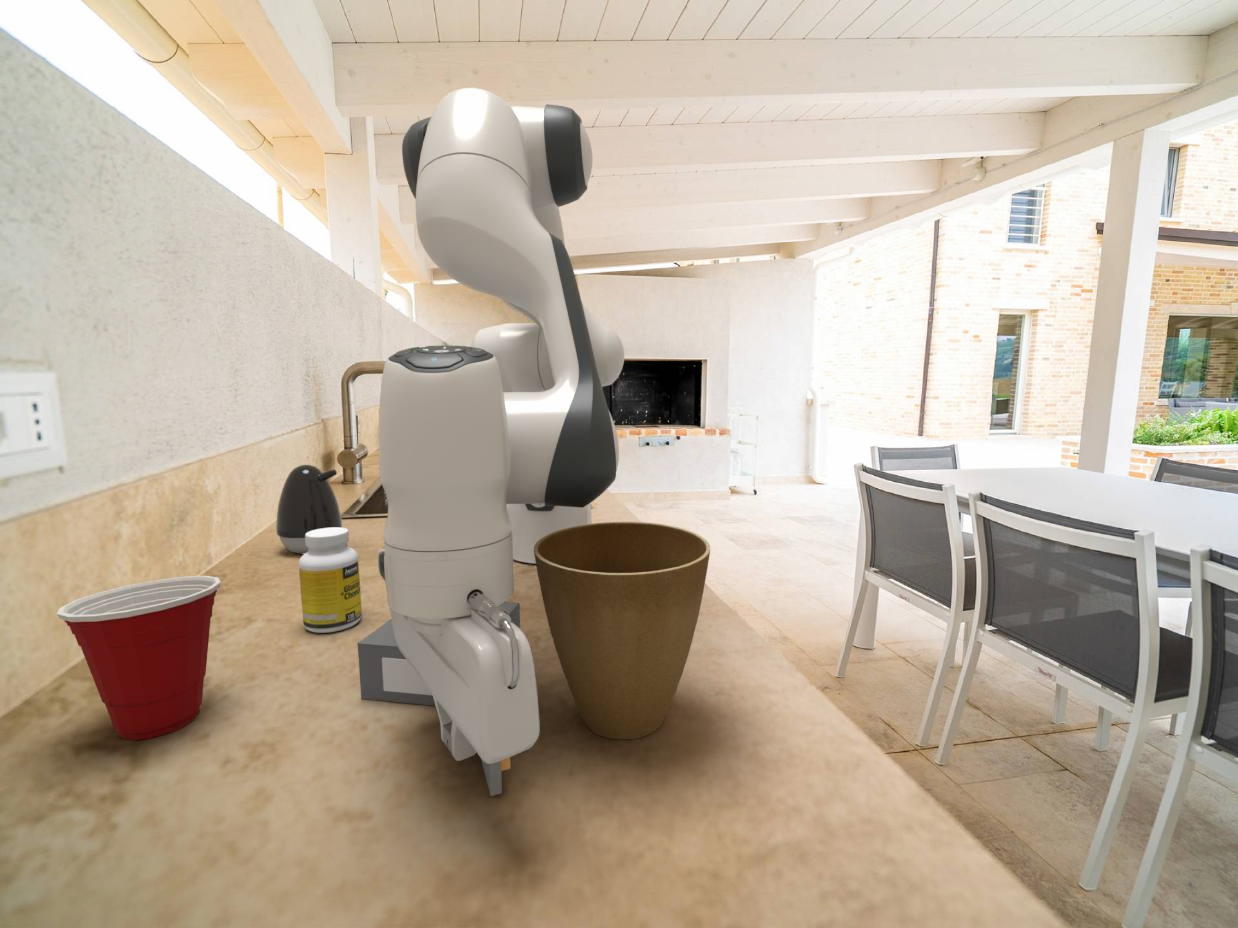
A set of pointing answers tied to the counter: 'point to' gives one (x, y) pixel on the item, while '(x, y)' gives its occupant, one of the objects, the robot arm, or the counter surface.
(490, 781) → the side door
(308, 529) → the pump dispenser
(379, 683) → the box
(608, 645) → the plant pot
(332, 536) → the pill bottle
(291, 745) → the counter surface
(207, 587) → the plastic cup
